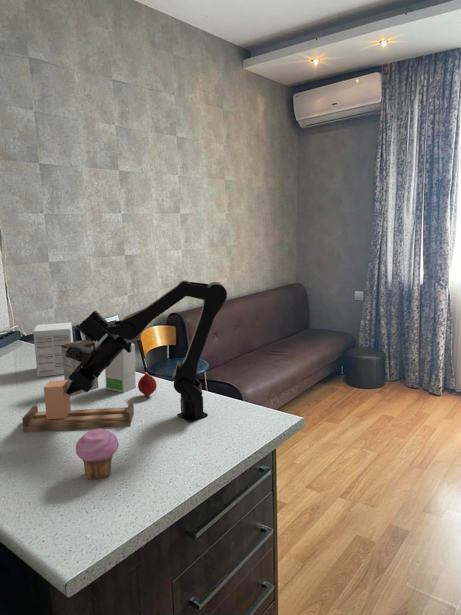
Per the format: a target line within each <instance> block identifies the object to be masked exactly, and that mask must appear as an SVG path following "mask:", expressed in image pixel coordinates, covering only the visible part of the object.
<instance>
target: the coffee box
mask: <svg viewBox="0 0 461 615" xmlns="http://www.w3.org/2000/svg"><path fill="white" fill-rule="evenodd" d="M73 342H74V343H77V344H80V345H82V346H85V347H87V348H89V349H91V350H93V349H94V348H95V347H96V344H95V341H93V342H92V341H91V340H88V339H82V340H77V341H73ZM70 344H71V343H68V344H64V345H61V346H62V357H63V368H64V374H63V375H64V376H63V378H64V379H63V380H68V381H69V386H70V385H71V383H72V381H71V380H70V379H69V376H70V375H71V373H72V372H73V371H74V370H75V369H76V368H77V366H78V365H80V363H81V362H80V361H77V360H74V359H72V358H67V357H66V356H65V354H66V351H67V350H68V347H69V345H70ZM80 366H81V365H80ZM93 376H94V375H93ZM94 377H95V376H94ZM94 381H95V383H94V385H93V387H92V388H91V389H90V390H94V389H97V388H99V377H98V378H96V377H95V380H94ZM90 390H89V391H90ZM82 393H86V392H85V391H83V390H82V389H81V390H79V391H77V392H74V393H72V394H73V395H75V396H76V395H79V394H82ZM72 394H71V395H72Z"/></svg>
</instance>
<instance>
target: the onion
mask: <svg viewBox="0 0 461 615" xmlns="http://www.w3.org/2000/svg"><path fill="white" fill-rule="evenodd" d="M137 383H138V384H137V388H138V391H139V392H140V393H142V394H143V395H144V396H145V397H149V396H151V395H152V394H153V393H155V391H156V390H157V386H158V385H157V381H156V380H155V378H154V377H153V376H152V375H150V374H149V373H148V372H144V375H142V377H141V378H139V381H137Z"/></svg>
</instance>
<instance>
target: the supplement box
mask: <svg viewBox="0 0 461 615" xmlns="http://www.w3.org/2000/svg"><path fill="white" fill-rule="evenodd" d="M72 324H73V323H72V322H60V323H59V322H58V323H44V324H36V326H35V328H34V330H33V332H32V333H33V342H34V354H35V361H36V362H35V363H36V364H35V366H36V375H37V377H38V378H39V377H50V376H60V375H64V368H63V357H62V346H61V345H64V344H68V343H72V342H74V338H73V337H74V336H73V326H72Z"/></svg>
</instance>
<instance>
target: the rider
mask: <svg viewBox="0 0 461 615" xmlns="http://www.w3.org/2000/svg"><path fill="white" fill-rule="evenodd" d="M68 388H69V381H68V380H65V379H60V380H59V379H57V380H49V381H48V382H47V383H46V384H45V386H43V392H44V393H43V394H44V395H43V396H44V403H45V404H44V405H45V412H46V418H47V419H60V418H66V417H68V414H69V412H70V411H71V410H72V407H71V406H72V405H71V398H70V397H71V394H70V395H68V394H67V393H66V391H67V390H68Z"/></svg>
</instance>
